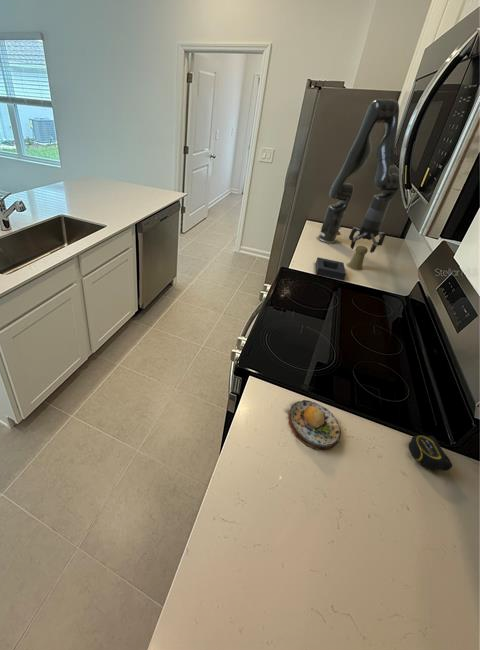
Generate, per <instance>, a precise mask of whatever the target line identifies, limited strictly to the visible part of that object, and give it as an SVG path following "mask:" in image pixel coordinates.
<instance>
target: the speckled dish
mask: <svg viewBox="0 0 480 650" xmlns="http://www.w3.org/2000/svg"><path fill="white" fill-rule="evenodd" d="M287 418H288V426H289V428H290V430H291V431H292V434H293V435H294V436H295V437H296V438H297V439H298V440H299V441H300V442H302V443H303V444H304V445H306V446H307V447H309V448H312V449H315V450H319V451H328V450H332V449H333V448H335V447H336V446H337V444H338V443H339V441H340V439H341V436H342V430H341V426H340V423H339V420H337V418H336V417H335V415H334V414H333V413H332V412H331V411H330V410H329V409H328V408H327V407H324V406H323V405H322V404H321V405H320V404H319V403H317V402H315V401H311V400H308V399H307V400H306V399H302V400H301V401H297V402H294V403H293V404H292V405H291V406H290V408H289V411H288V413H287Z"/></svg>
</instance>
